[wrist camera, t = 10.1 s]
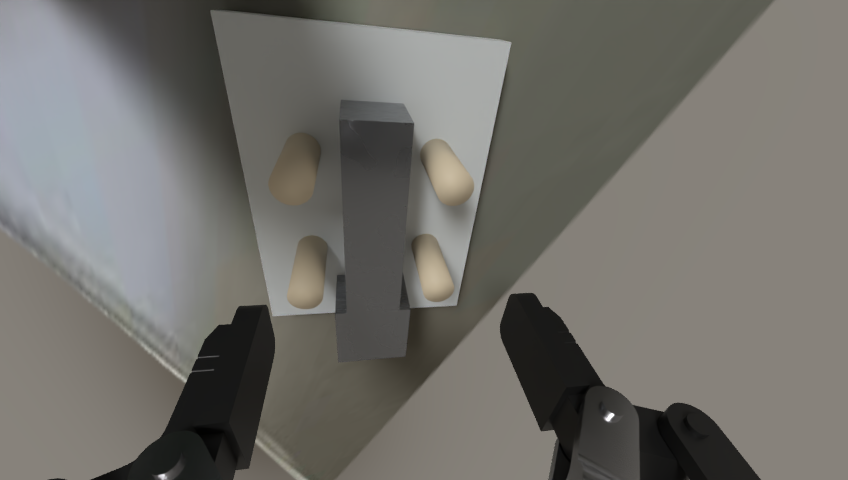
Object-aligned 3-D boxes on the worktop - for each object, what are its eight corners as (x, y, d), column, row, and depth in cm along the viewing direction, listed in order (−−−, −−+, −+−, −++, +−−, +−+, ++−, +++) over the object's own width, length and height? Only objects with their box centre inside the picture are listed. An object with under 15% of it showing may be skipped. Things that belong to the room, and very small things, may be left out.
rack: (222, 9, 14) (161, 11, 9) (499, 39, 16) (555, 52, 12) (276, 299, 23) (259, 371, 18) (451, 290, 25) (473, 352, 21)
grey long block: (326, 99, 15) (322, 118, 12) (416, 104, 16) (429, 123, 13) (339, 321, 23) (338, 362, 20) (399, 317, 24) (405, 356, 21)
